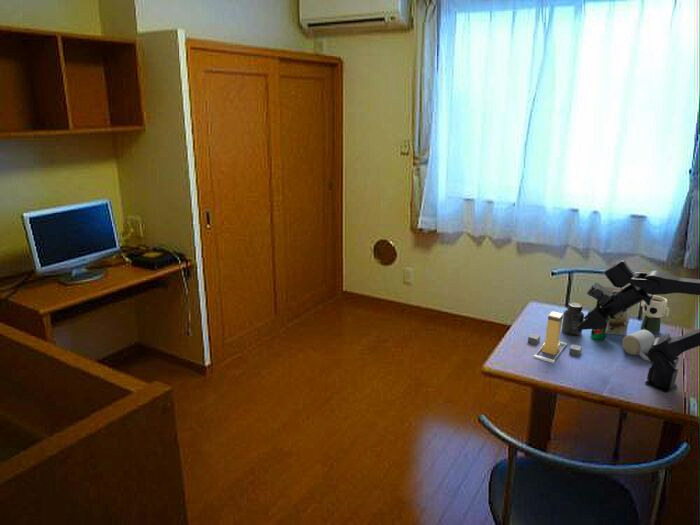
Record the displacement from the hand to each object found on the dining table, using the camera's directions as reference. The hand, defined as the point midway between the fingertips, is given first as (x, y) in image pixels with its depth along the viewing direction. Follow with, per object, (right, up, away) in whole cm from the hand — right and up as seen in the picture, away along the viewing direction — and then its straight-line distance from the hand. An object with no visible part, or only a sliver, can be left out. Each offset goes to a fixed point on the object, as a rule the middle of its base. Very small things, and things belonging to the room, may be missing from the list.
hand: (581, 323), depth 172 cm
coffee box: (+23, -6, +27) cm, 36 cm away
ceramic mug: (+24, -12, +9) cm, 28 cm away
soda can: (+14, -8, +19) cm, 25 cm away
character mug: (+37, -6, +27) cm, 46 cm away
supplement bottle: (+6, -7, +23) cm, 25 cm away
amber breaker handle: (-7, -10, +8) cm, 15 cm away
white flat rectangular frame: (-7, -11, +9) cm, 16 cm away
